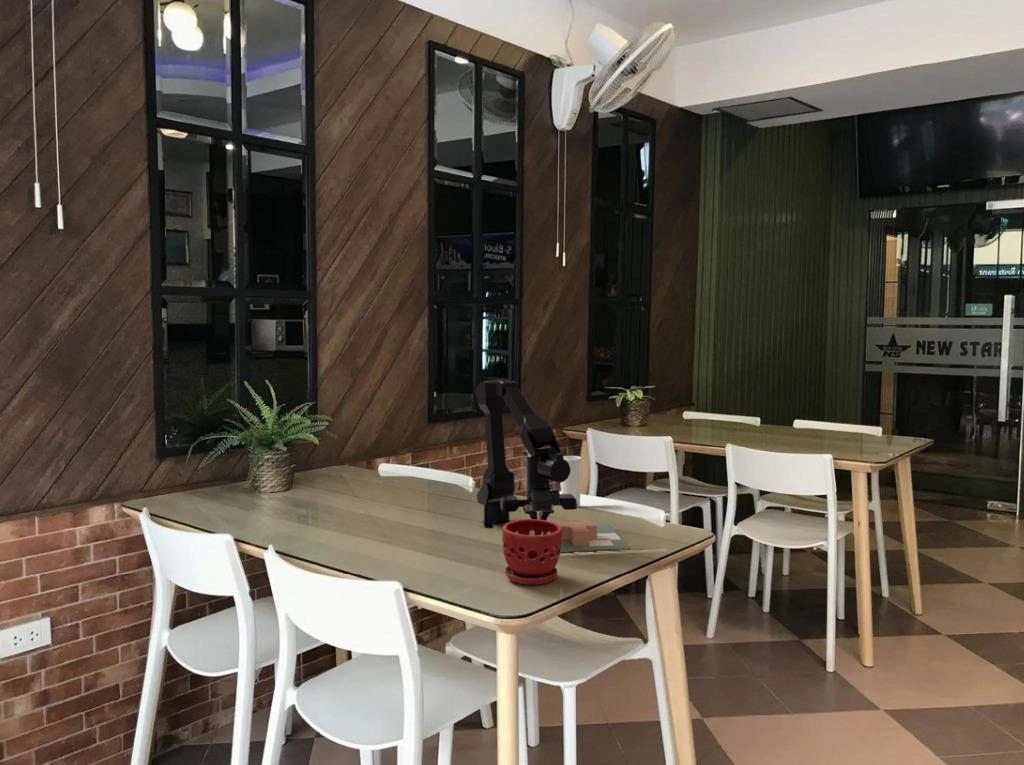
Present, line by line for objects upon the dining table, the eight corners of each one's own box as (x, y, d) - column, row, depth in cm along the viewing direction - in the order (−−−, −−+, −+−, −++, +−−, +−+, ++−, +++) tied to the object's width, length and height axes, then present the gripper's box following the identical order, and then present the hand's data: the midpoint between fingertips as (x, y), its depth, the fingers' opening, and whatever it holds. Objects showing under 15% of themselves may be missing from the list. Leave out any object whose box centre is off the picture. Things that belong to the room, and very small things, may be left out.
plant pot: (493, 585, 184) (493, 530, 182) (515, 567, 196) (514, 516, 195) (551, 591, 179) (551, 536, 178) (569, 573, 191) (569, 521, 190)
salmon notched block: (561, 546, 209) (561, 532, 209) (555, 536, 218) (555, 523, 218) (601, 544, 210) (601, 530, 210) (593, 534, 219) (593, 521, 219)
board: (537, 554, 205) (537, 551, 205) (524, 528, 229) (524, 525, 229) (630, 550, 208) (630, 547, 207) (608, 525, 231) (608, 522, 231)
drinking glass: (580, 510, 248) (580, 460, 246) (557, 509, 249) (557, 459, 248) (583, 505, 254) (583, 455, 253) (561, 504, 256) (561, 455, 254)
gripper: (504, 483, 203) (504, 546, 205) (580, 480, 205) (581, 543, 207) (499, 474, 214) (500, 534, 216) (572, 471, 216) (572, 531, 218)
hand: (538, 536), depth 214 cm, fingers closed
